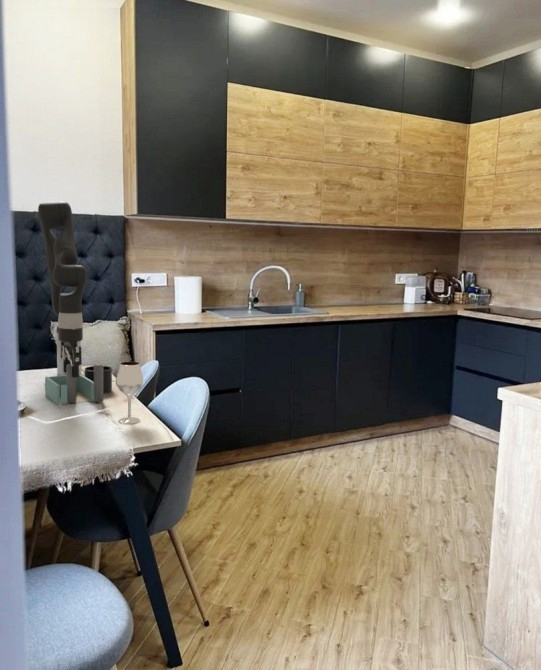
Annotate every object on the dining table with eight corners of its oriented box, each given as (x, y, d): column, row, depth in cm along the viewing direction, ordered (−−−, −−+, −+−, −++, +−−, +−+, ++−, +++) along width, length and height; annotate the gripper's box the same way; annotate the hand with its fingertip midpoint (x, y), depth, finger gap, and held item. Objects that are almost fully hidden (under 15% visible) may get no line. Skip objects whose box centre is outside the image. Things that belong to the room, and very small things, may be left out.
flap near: (59, 402, 184) (59, 365, 182) (74, 400, 187) (74, 363, 185) (62, 404, 182) (61, 366, 180) (77, 403, 185) (77, 365, 183)
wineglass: (132, 415, 176) (132, 359, 173) (148, 421, 171) (149, 363, 168) (110, 420, 169) (110, 363, 167) (126, 426, 164) (126, 367, 162)
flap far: (98, 403, 185) (97, 366, 183) (88, 401, 187) (88, 364, 185) (105, 402, 187) (105, 364, 185) (95, 399, 190) (95, 362, 188)
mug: (110, 387, 210) (110, 363, 209) (112, 395, 199) (112, 370, 198) (84, 388, 207) (83, 364, 206) (85, 396, 196) (84, 371, 194)
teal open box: (45, 396, 193) (45, 377, 192) (80, 392, 200) (79, 373, 199) (57, 406, 182) (57, 385, 181) (93, 401, 189) (93, 381, 188)
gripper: (52, 324, 184) (53, 371, 187) (65, 329, 173) (66, 380, 175) (75, 323, 189) (75, 369, 191) (89, 328, 178) (89, 377, 180)
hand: (71, 374), depth 183 cm, fingers open, 8 cm apart
